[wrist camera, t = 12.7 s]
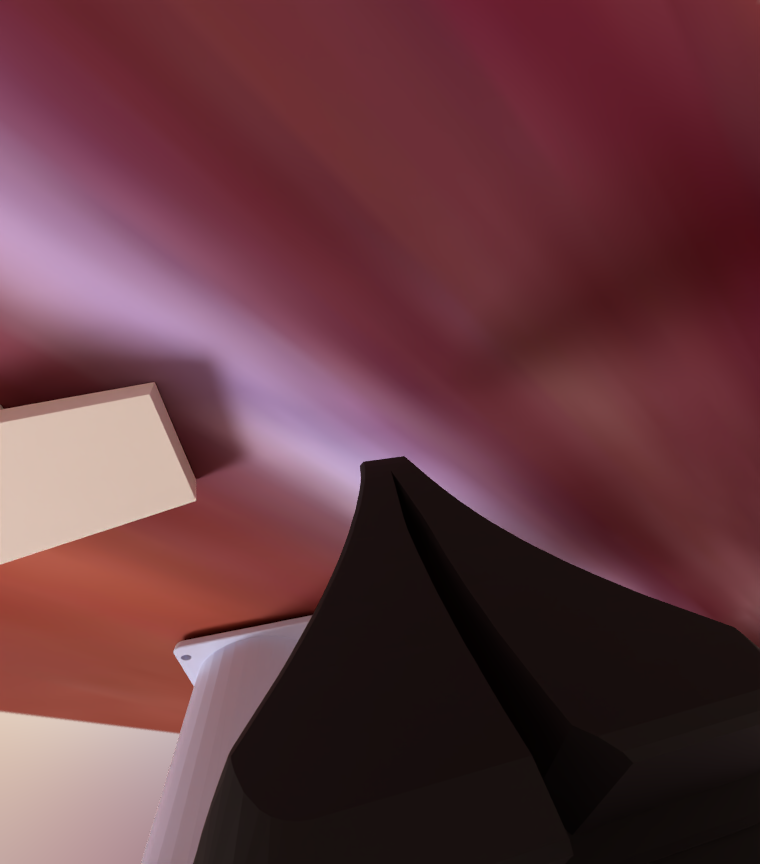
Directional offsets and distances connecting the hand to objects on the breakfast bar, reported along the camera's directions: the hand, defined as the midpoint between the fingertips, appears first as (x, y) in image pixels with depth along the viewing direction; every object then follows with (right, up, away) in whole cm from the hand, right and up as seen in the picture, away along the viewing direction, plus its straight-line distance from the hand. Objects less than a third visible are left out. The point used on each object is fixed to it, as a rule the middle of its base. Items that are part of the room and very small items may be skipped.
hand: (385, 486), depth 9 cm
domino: (-8, +1, +2) cm, 8 cm away
